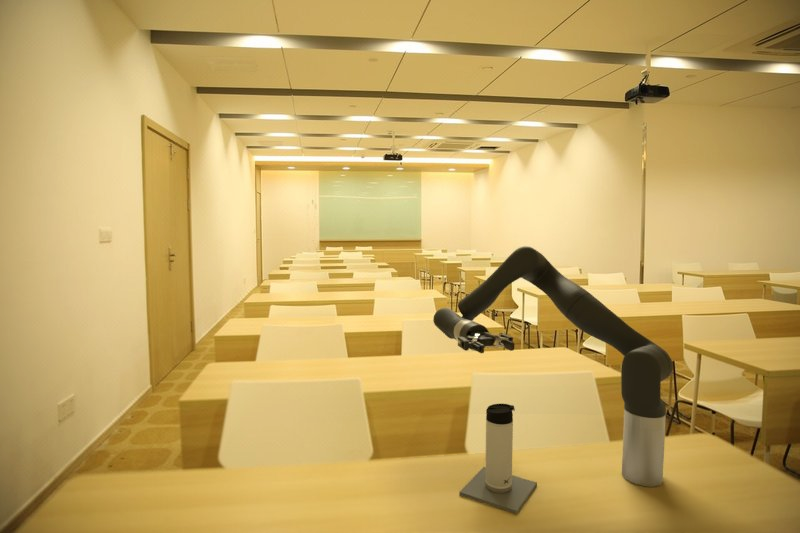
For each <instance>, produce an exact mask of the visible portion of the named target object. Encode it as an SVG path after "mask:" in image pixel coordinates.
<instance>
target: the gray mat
mask: <svg viewBox="0 0 800 533" xmlns="http://www.w3.org/2000/svg"><path fill="white" fill-rule="evenodd" d="M485 479H486V478H485V466H483V467H482V468H481V469H480V470H479V471H478V472H477V473H476V474H475V475H474V476H473V477H472V478H471V479H470V480H469V481H468V482H467V484H465V485H464V487H463V488H462V489H460V491H459V494H458V495H459V496H461V497H464V498H468V499H471V500H473V501H476V502H479V503H483V504H484V505H488V506H491V507H493V508H497V509H500V510H502V511H506V512H508V513H509V512H510V513H511V514H515V515H518V514H519V512H520V510H521V509H522V507H523V506H524V504H525V503H526V502H527V500H528V499H529V498H530V496H531V494H532V493H533V492H534V490H535V489H536V487H537V486H538V485H537V484H538V482H536V481H534V480H530V479H526V478H524V477H520V476H516V475H513V474H512V488H511V490H510V491H508V492H506V493H496V492H492V491H490V490H489V489H488V488H487V487H486V486H485Z"/></svg>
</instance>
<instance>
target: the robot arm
mask: <svg viewBox="0 0 800 533" xmlns="http://www.w3.org/2000/svg"><path fill="white" fill-rule="evenodd" d="M519 279H522V280H524V281H527V282H528V283H531V284H532V285H534V286H535V287H536V288H537V289H539V290H540V291H542V292H543V293H544V294H545V295H546V296H548V298H549V299H550V300H551V302H552V303H553V304H554V306H555V307H556V308H557V309H558V311H559V312H560V313H561V314H562V315H563V316H564V317H565V318H566V319H567V320H568V321H569V322H571V323H572V324H573V325H574V326H575V327H577V328H578V329H579V330H581V331H582V332H583V333H584V334H587V335H589V336H590V337H593V338H595V339H597V340H599V341H601V342H603V343H606V344H608V345H609V346H611V347H612V348H614V349H615V350H617V351H618V352H619V353H621V355H622V356H624V357H623V359H622V362H621V369H620V371H621V373H620V375H621V376H620V379H621V380H620V381H621V382H620V383H621V392H620V393H621V398H622V400H623V406H624V407H623V429H622V430H623V431H622V433H623V434H622V435H623V436H622V456H621V457H622V458H621V459H622V460H621V475H622V477H623V478H624V479H626V480H627V481H628V482H630V483H633V484H635V485H638V486H643V487H648V488H649V487H651V488H653V487H658V486H661V485H662V484H663V483H664V482H663V481H664V480H663V479H664V464H665V463H664V458H665V439H666V438H665V435H666V416H667V415H666V414H667V413H666V411H667V405H666V402H665V401H664V400H663V399H662V398H661V385H662V383H661V382H663V381H665V380H666V379H668V378H669V377H670V376H671V375H672V373H673V370H674V364H673V361H672V358H671V356H670V355H669V353H668V352H667V351H666V350H665V349H663V348H662V347H661V346H659V345H658V344H657V343H655V342H653V340H650V339H649V338H647V337H646V336H644V335H643V334H641V333H640V332H638V331H637V330H635V328H633V327H631V326H630V325H629V324H628V323H626V322H625V320H623V319H621V317H619V316H618V315H617V314H616V313H615V312H613V311H612V310H611V309H609V308H608V306H606V305H605V304H604V303H602V302H601V301H600V300H599V299H598V298H596V297H595V296H594V295H593V294H592V293H591V292H589V291H587V290H586V289H585V288H583V287H582V286H580V285H579V284H577V282H576V283H575V282H574V281H572V280H571V279H568V278H567V277H566V276H565V275H564V274H562V273H561V272H560V271H559V270H558V269H557V268H555V266H553V265H552V263H551V262H550V261H549V260H548V259H547V258H546V257H545V256H544V255H543V253H541V252H539V251H538V250H537V249H535V248H534V247H531V246H529V245H528V246H527V245H524V246H519V247H517V248H516V249H515V250H513V252H512V253H511V254H509V256H507V258H506V259H505V260H504V261H503V262H502V263H501V264H500V265H499V266H498V267H497V269H495V270H494V272H493V273H491V275H490V276H488V278H487V279H486V280H484V281H483V282H482V283H481V284H480V285H478V286H477V287H476V288H475V289H473V290H472V291H471V292H470V293H469V294H467V295H465V296H464V297H463V298H462V299H461V300H459V301H458V303H457V308H458V311H459V312H460V314H461V315H462V316H460V315H459V314H458V313H457V312H455V311H454V310H453V309H451V308H449V307H442V308H439V309H438V310H437V311H436V312H435V314H433V319H432V320H433V324H434V326H435V327H436V328H437V329H438V330H439V331H440V332H441V333H443V334H444V335H445V336H446V337H447V338H449V339H452V340H456V341H457V346H458V347H460V349H462V350H464V351H469V350H471V351H474V352H478V353H479V354H484V353H485V348H494V349H499V348H504V349H507V350H509V351H510V352H511V351H514V350H515V346H516V345H515V342H514V337H513V336H510V335H509V334H506V333H503V332H499V333H498V334H495V333H492V332H489V329H488V328H487V327H486V326H485V325H482V324H480V323H478V322H476V321H474V320H475V318H477V317H478V316H480V314H482V313H483V312H485V311H486V310H488V309H489V308H490V307H491V306H492V305H493V304H494V303H495V301H496V300H497V299H498V298H499V296H500V295H501V293H502V292H503V291H504V290H505V289H506V288H507V287H509V286H510V285H511V284H513V283H514V282H516V281H517V280H519Z"/></svg>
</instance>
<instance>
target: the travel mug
mask: <svg viewBox="0 0 800 533" xmlns="http://www.w3.org/2000/svg"><path fill="white" fill-rule="evenodd" d="M485 410H486V413H485V414H486V416H485V420H486V421H485V466H484V467H485V478H486V479H485V486H486V487H487V488H488V489H489V490H490V491H492V492H496V493H506V492H508V491H510V490H511V488H512V475H513V438H514V436H513V435H514V433H513V432H514V430H513V429H514V428H513V427H514V419H513V417H514V416H513V415H514V414H513V412H515V406H514V405H513V404H509V403H494V404H491V405H488V407H487V408H486V409H485Z"/></svg>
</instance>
